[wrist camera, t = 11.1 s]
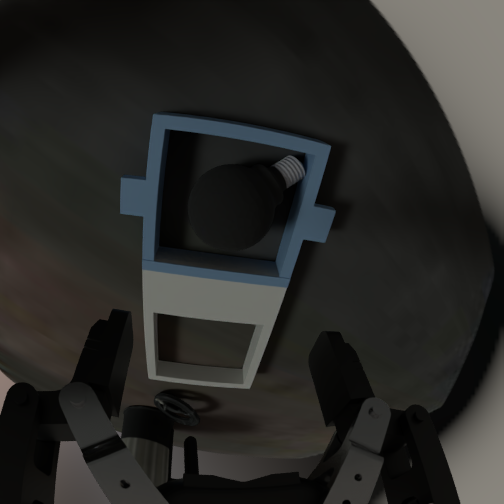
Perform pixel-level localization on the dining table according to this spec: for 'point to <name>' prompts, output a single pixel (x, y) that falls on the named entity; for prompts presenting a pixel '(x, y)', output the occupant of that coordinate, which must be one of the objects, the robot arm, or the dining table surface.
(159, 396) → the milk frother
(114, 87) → the dining table surface
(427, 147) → the dining table surface
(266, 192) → the light bulb
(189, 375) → the two-tone divided frame
